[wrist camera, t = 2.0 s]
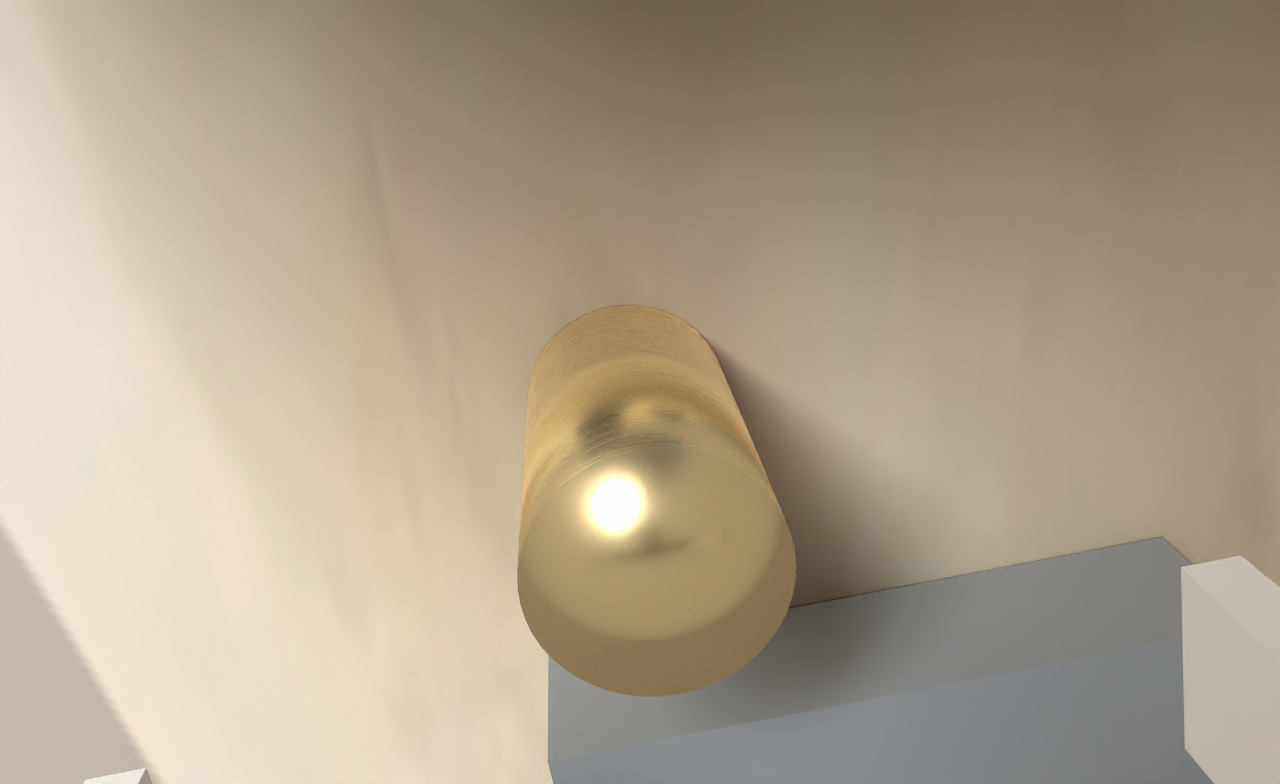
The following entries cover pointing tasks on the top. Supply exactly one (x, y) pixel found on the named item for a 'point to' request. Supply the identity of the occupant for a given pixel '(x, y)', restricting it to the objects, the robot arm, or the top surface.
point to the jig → (923, 689)
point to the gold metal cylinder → (646, 510)
